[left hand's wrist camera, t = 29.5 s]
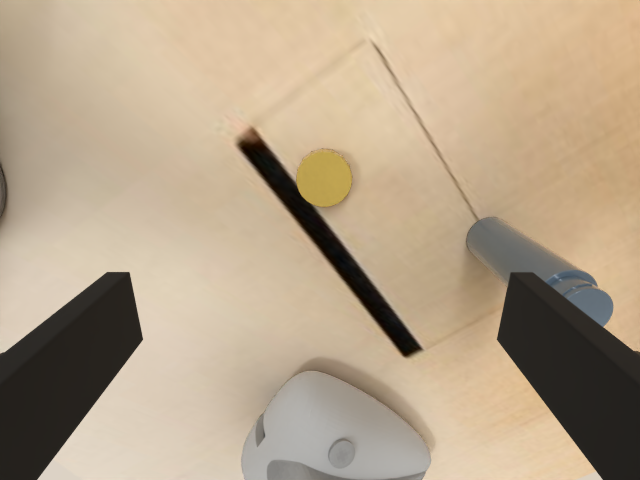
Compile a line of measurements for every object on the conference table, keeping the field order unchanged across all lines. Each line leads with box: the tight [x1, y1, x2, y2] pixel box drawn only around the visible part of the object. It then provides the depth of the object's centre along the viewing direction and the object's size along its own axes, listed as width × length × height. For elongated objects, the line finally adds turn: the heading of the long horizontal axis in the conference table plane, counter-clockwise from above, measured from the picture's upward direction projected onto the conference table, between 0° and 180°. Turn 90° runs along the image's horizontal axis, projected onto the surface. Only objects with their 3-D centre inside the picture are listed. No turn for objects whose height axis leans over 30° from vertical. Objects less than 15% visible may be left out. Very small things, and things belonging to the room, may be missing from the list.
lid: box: [296, 148, 352, 207], centre depth 36 cm, size 5×5×2 cm
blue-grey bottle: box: [467, 217, 613, 327], centre depth 32 cm, size 5×5×15 cm
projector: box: [241, 371, 431, 480], centre depth 41 cm, size 22×23×15 cm
